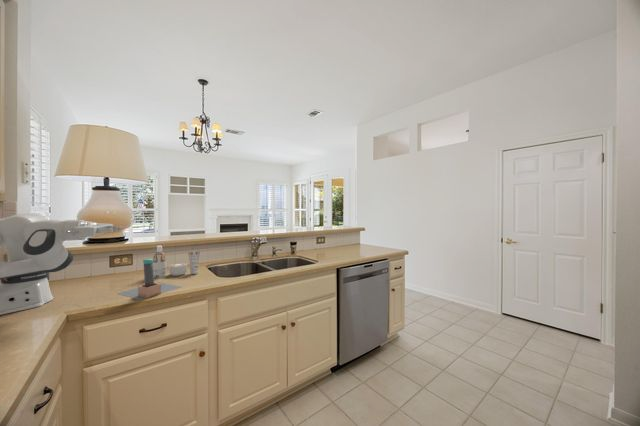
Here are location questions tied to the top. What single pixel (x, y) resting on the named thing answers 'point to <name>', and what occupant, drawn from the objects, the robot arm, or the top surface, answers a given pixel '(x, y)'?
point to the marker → (148, 272)
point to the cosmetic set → (174, 269)
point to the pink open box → (149, 290)
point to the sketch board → (164, 288)
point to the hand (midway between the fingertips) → (117, 229)
